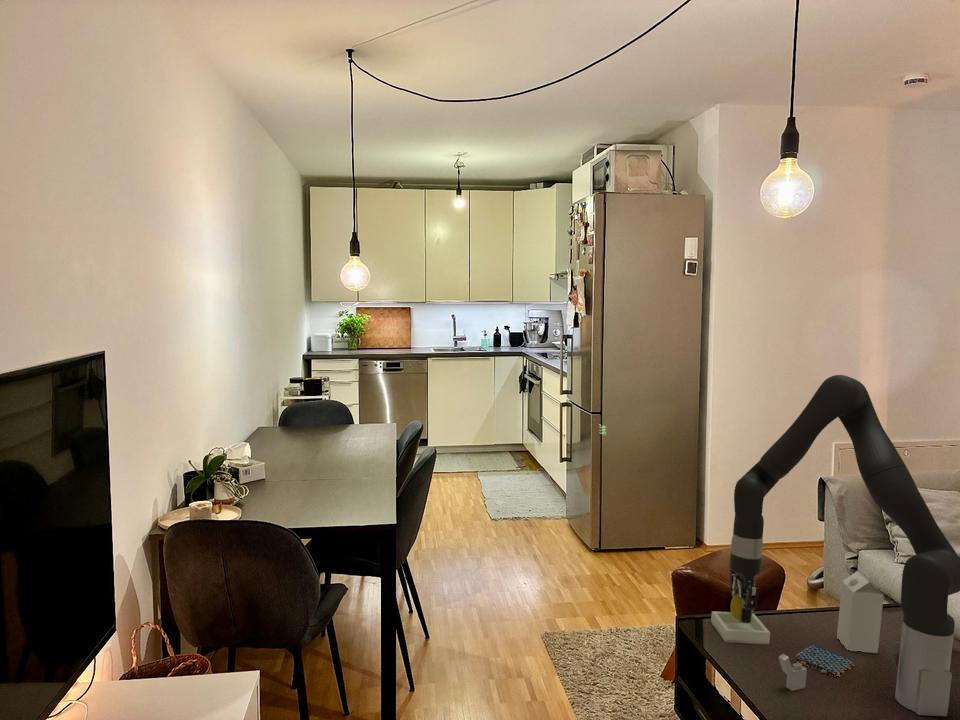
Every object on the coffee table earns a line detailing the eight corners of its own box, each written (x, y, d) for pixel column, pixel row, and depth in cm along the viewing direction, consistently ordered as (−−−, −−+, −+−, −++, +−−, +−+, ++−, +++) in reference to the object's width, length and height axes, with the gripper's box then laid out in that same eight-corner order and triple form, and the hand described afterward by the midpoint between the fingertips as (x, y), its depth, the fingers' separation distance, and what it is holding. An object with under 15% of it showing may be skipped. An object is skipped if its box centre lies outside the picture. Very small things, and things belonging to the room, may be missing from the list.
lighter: (799, 683, 162) (802, 649, 161) (805, 687, 160) (808, 652, 160) (775, 689, 159) (778, 654, 158) (781, 693, 157) (784, 657, 157)
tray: (769, 644, 180) (770, 632, 180) (724, 642, 180) (725, 630, 180) (752, 624, 191) (753, 613, 191) (710, 622, 191) (711, 611, 191)
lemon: (724, 619, 186) (726, 589, 186) (740, 616, 189) (743, 586, 188) (740, 628, 181) (743, 597, 181) (757, 625, 184) (759, 594, 183)
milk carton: (865, 640, 185) (872, 568, 183) (877, 654, 178) (885, 578, 176) (836, 638, 186) (843, 565, 184) (847, 651, 178) (855, 576, 177)
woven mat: (791, 663, 172) (792, 655, 172) (811, 650, 179) (812, 642, 179) (836, 682, 164) (837, 673, 164) (855, 667, 171) (856, 659, 171)
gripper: (772, 563, 176) (766, 630, 178) (750, 543, 191) (745, 605, 192) (741, 562, 176) (736, 629, 178) (722, 542, 191) (717, 604, 192)
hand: (741, 616), depth 185 cm, fingers closed on lemon, 5 cm apart
